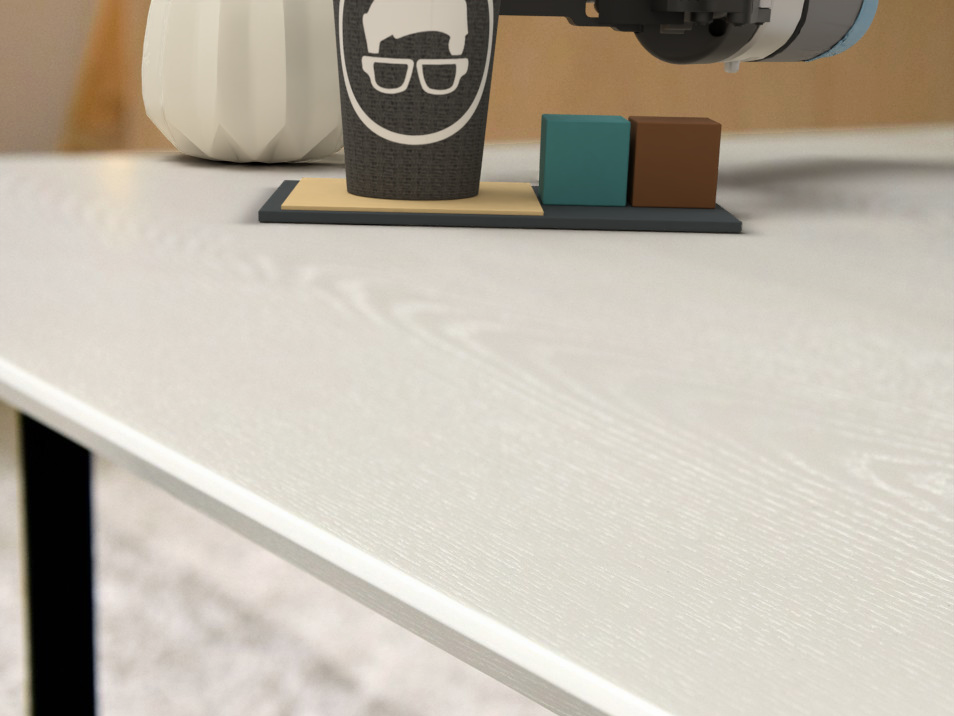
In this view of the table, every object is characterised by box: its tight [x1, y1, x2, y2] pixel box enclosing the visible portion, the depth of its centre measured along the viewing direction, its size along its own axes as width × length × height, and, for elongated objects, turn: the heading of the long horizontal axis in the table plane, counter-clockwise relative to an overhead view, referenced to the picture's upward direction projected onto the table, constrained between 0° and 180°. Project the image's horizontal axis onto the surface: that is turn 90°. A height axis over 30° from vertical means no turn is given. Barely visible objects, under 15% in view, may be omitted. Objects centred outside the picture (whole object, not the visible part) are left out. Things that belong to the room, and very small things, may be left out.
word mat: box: [257, 113, 743, 234], centre depth 80 cm, size 22×13×4 cm, turn 89°
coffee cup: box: [333, 0, 501, 200], centre depth 78 cm, size 10×10×15 cm
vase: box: [140, 0, 344, 164], centre depth 100 cm, size 14×14×13 cm
